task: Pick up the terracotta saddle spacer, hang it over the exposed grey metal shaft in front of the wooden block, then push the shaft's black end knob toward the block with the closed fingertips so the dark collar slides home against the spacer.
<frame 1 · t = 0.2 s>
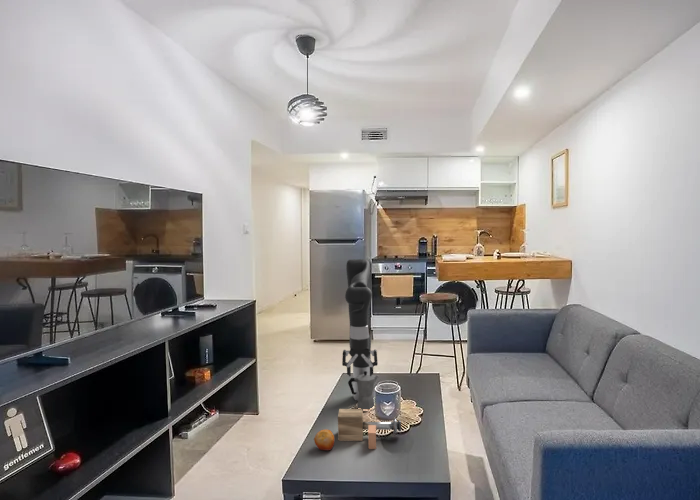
hand: (360, 375, 176), 28 cm above the table, fingers open, 8 cm apart
spacer: (372, 444, 176), on the table
wooden block: (350, 436, 183), on the table
fruit: (324, 448, 174), on the table
shaft: (379, 425, 182), point 5 cm above the table, slide at 9.0 cm
coffeepot: (364, 408, 211), on the table
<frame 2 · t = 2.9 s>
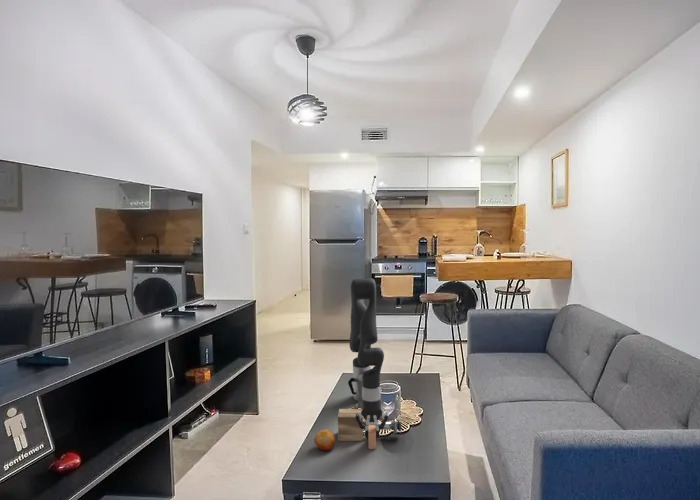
hand: (372, 438, 176), 3 cm above the table, fingers closed on spacer, 3 cm apart
spacer: (372, 444, 176), on the table, touching gripper
everything else where it was.
when the fingers open (6 cm above the table, at t = 6.6 s): spacer moves 1 cm, resting on shaft.
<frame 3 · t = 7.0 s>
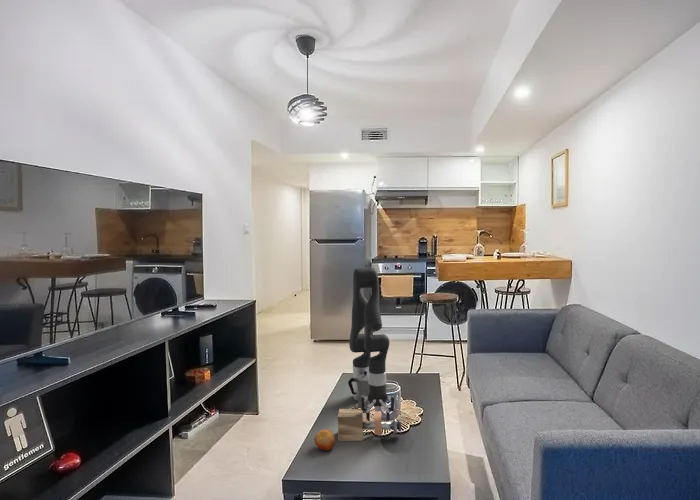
hand: (377, 420, 182), 7 cm above the table, fingers open, 7 cm apart
spacer: (378, 429, 183), point 3 cm above the table, tilted 8°, touching shaft
shaft: (379, 425, 182), point 5 cm above the table, slide at 9.0 cm, touching spacer
everything else where it was.
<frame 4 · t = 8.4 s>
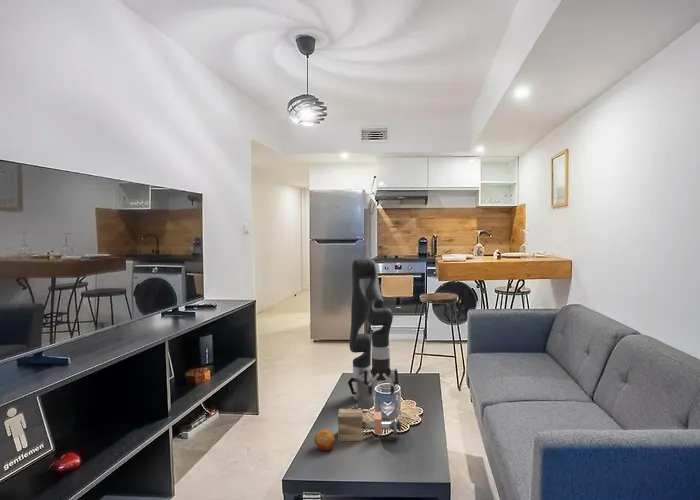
hand: (381, 394, 181), 18 cm above the table, fingers open, 8 cm apart
spacer: (378, 430, 182), point 2 cm above the table, touching shaft
everything else where it was.
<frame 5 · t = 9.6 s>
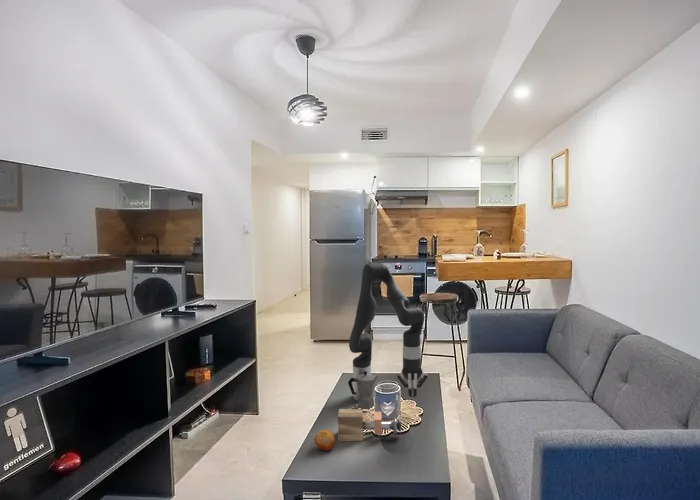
hand: (412, 396, 181), 17 cm above the table, fingers closed
nothing on the table moved.
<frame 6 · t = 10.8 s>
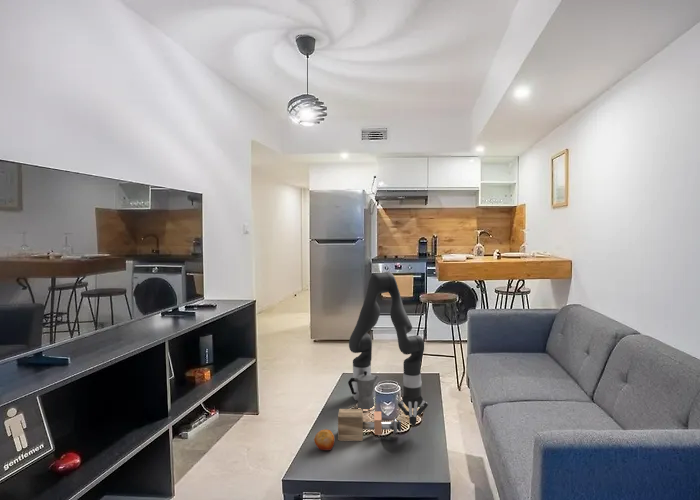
hand: (412, 424, 181), 5 cm above the table, fingers closed
nothing on the table moved.
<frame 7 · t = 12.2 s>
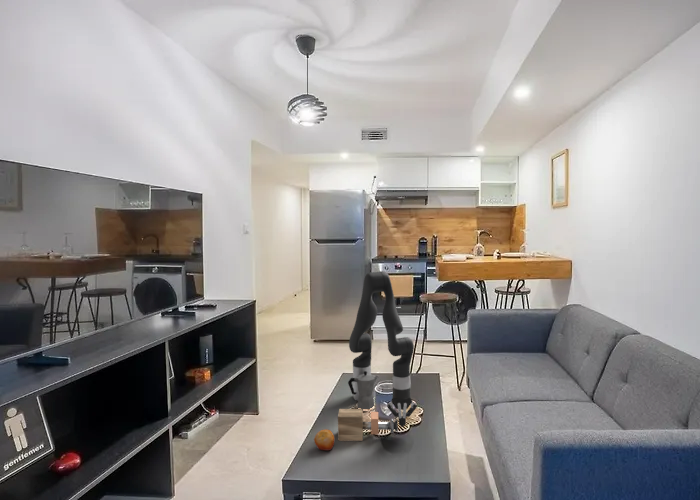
hand: (402, 425, 182), 4 cm above the table, fingers closed
spacer: (374, 430, 182), point 2 cm above the table, touching shaft
shaft: (376, 425, 182), point 5 cm above the table, slide at 7.6 cm, touching gripper, spacer
everything else where it was.
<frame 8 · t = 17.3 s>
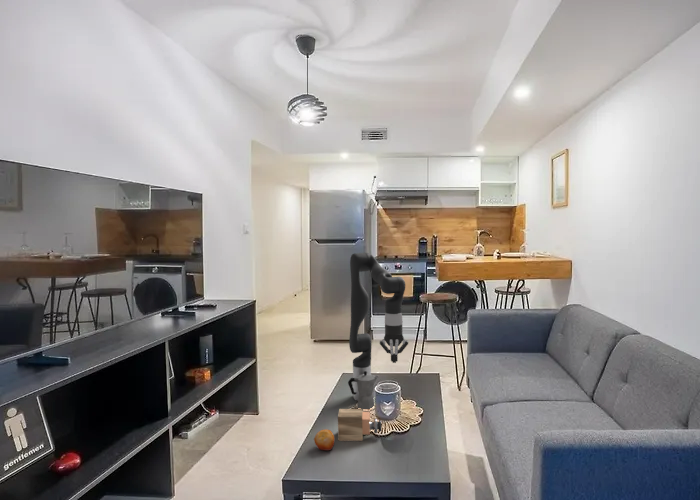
hand: (394, 362, 188), 29 cm above the table, fingers closed
spacer: (366, 430, 183), point 2 cm above the table, touching wooden block, shaft
shaft: (360, 425, 183), point 5 cm above the table, slide at 0.9 cm, touching spacer
everything else where it was.
at the end: shaft slide at 0.9 cm; spacer 2.5 cm from the target spot on the table beside the wooden block, point 2.5 cm above the table; spacer tilted 2° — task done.
